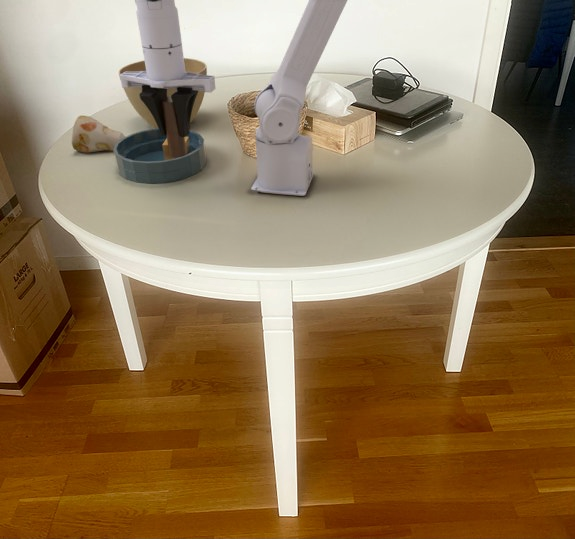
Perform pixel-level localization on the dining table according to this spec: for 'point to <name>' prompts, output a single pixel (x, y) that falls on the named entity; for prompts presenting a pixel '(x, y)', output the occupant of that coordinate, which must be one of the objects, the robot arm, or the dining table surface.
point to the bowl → (156, 158)
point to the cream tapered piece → (93, 136)
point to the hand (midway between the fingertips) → (175, 134)
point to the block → (166, 149)
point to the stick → (172, 129)
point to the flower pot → (141, 108)
